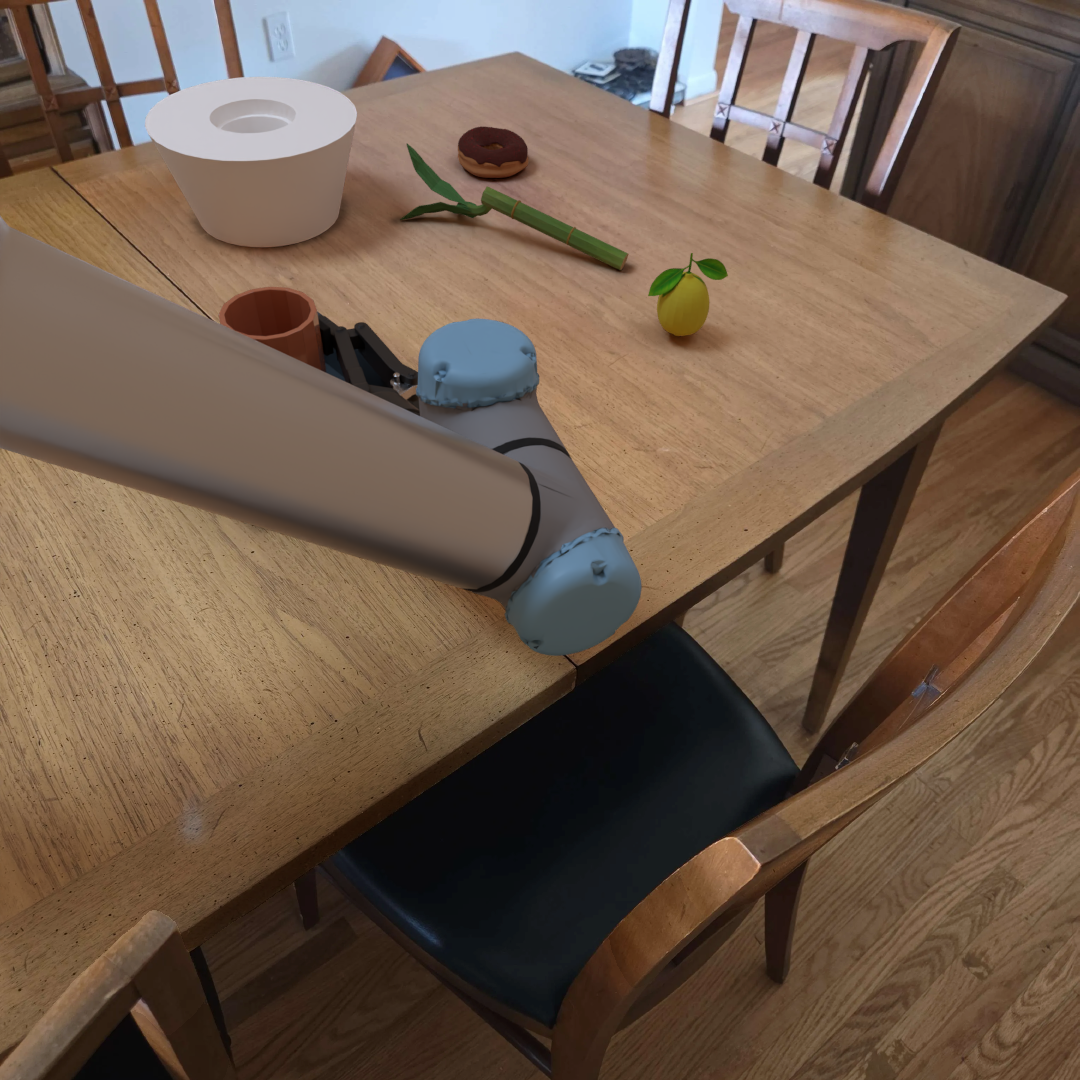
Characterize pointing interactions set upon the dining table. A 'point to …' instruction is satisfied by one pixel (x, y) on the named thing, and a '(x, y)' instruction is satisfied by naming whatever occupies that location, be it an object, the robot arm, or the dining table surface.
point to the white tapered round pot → (257, 156)
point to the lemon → (685, 296)
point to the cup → (278, 322)
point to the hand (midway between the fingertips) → (247, 327)
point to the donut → (492, 152)
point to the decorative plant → (512, 215)
